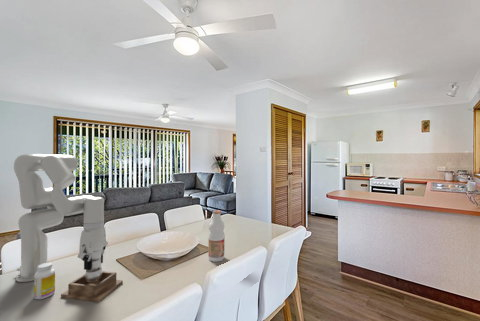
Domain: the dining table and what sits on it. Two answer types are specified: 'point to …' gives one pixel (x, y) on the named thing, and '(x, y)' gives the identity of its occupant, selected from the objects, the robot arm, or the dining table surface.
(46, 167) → the robot arm
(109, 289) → the walnut caddy
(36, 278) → the supplement bottle
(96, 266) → the plastic bottle
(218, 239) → the fruit juice
